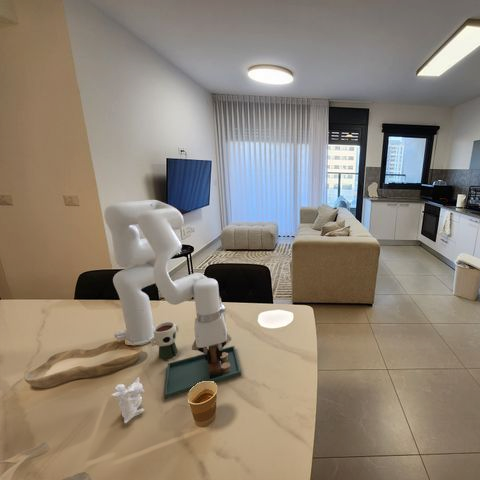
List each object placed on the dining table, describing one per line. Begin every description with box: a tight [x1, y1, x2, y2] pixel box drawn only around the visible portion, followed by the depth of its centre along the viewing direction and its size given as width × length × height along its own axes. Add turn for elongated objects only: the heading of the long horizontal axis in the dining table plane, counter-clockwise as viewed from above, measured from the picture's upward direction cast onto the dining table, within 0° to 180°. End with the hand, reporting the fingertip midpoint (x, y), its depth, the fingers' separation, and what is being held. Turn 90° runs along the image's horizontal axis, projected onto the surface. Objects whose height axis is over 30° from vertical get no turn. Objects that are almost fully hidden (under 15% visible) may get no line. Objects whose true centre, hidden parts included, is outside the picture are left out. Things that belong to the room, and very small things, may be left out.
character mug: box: [150, 321, 180, 361], centre depth 99 cm, size 11×7×13 cm, turn 155°
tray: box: [164, 345, 242, 400], centre depth 93 cm, size 23×15×2 cm, turn 116°
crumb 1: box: [220, 352, 228, 362], centre depth 98 cm, size 3×3×2 cm
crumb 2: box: [221, 362, 230, 373], centre depth 93 cm, size 3×3×2 cm
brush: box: [207, 344, 222, 379], centre depth 93 cm, size 4×10×9 cm, turn 26°
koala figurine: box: [110, 376, 145, 424], centre depth 75 cm, size 8×7×12 cm
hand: (213, 359), depth 94 cm, fingers closed on brush, 2 cm apart
